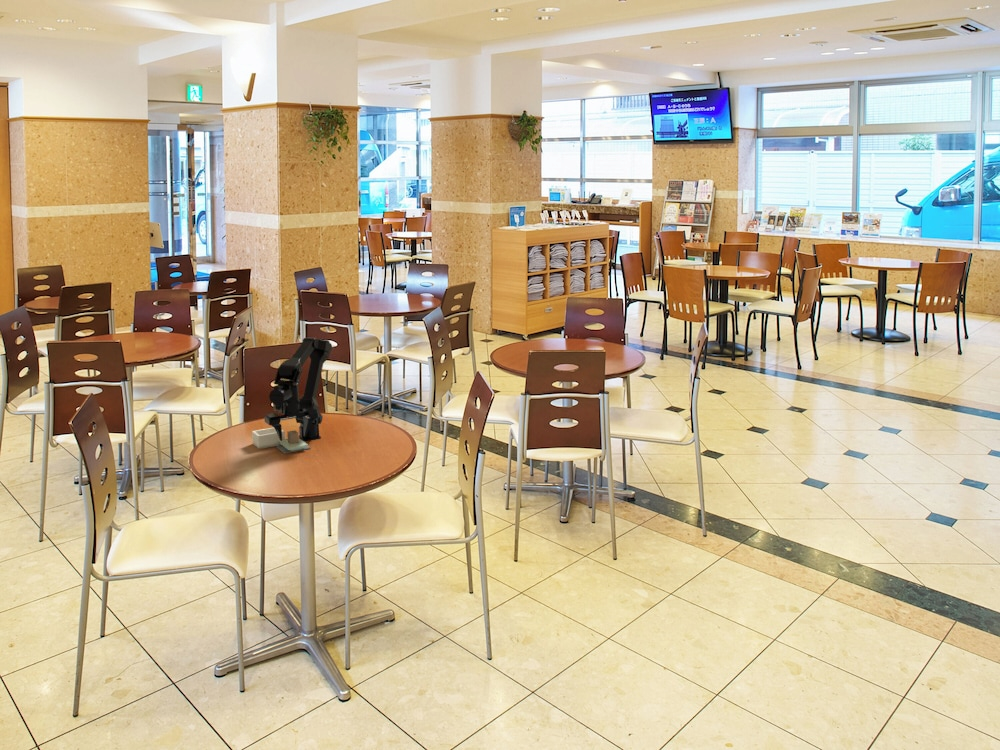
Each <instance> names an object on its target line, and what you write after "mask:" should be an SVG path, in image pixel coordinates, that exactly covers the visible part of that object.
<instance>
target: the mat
mask: <svg viewBox="0 0 1000 750" xmlns="http://www.w3.org/2000/svg"><path fill="white" fill-rule="evenodd" d="M275 448H276V449H278V450H279V451H280V452H281V453H283V454H284V455H285V454H291V453H295V452H300V451H306V450H311V447H310V446H309V445H308V447H304V448H303V449H300V450H294V451H291V450H288V449H286V448H285V447H284V446H283V445H279V446H275Z"/></svg>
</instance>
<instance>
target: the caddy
mask: <svg viewBox="0 0 1000 750" xmlns="http://www.w3.org/2000/svg"><path fill="white" fill-rule="evenodd" d="M251 434H252V435H251V436H252V445H254V446H255V447H256V448H257V449H258V450H260V449H267V448H272V447H276V446H279V445H281V444H280V443H279V440H280V439H279V437H278V434H277V432H276V430H275V428H274V427H273V426H272V427H268V428H263V429H256V430H251ZM284 439H286V435H285V431H284V430H283V429H282V440H284Z"/></svg>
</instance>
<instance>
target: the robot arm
mask: <svg viewBox="0 0 1000 750" xmlns="http://www.w3.org/2000/svg"><path fill="white" fill-rule="evenodd" d="M332 350H333V345H332V343H331V342H330V341H329V339H318V338H316V337H304V338H303V339H302V342H301V344H300V345H299V347H298V348H297V350H295V352H294V354H292V356H291V357H290V358H289V359H287V360H284V361H283V362H282V363H280V365H279V366H278V367H277V368H278V369H277V371H276V375H275V378H274V382H273V384H274V386H273V389H272V390H271V391H270V393H269V396H268V397H269V401H270V403H272V404H273V405H272V406H273V407H272V409H273V411H278V413H280V415H279V414H277V413H276V412H273V413H268V414H267V413H266V414H265V416H264V423H266V424H268V425H269V426H271V427H272V428H273V427H274V428H275V430H276V432H277V434H278V437H279V439H280V441H282V430H283V429H282V424H281V421H287V420H293V419H295V421H296V424H299V425H300V426H298V431H299V432H298V438H300V439H301V440H302V441H304V442H308V441H312V440H317V439H322V437H321V436H320V425H321V424H322V422H323V417H324V416H323V415H322V413H321V412H320V411H319V407H320V406H319V404H318V400H317V395H318V391H319V386H320V381H321V375H322V372H323V367H324V363H325V362H326V361H327V360H328V359H329V357H330V355H331V352H332ZM308 358H309V360H310V363H309V367H308V372H307V377H306V381H305V387H304V392H303V395H302V396H301V398H300V397H299V396H300V393H299V384H300V383H301V380H300V378H301V376H302V373H303V368H302V367H303V365H304V364H305V363H306V361H307V360H308Z"/></svg>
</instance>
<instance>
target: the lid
mask: <svg viewBox="0 0 1000 750" xmlns="http://www.w3.org/2000/svg"><path fill="white" fill-rule="evenodd" d="M286 436H287V438H285V439H284V440H282V441H280V440H279V443H280V444H281V445H283V446H284V447H285V448H286V449H288V450H291V451H294V450H300V449H303V448H304V447H308V446H309V444H308V443H306V441H305V440H303V439H302V438H300V437H299V432H298V431H297V430H290V431H289V430H288V431H287V435H286Z"/></svg>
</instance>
